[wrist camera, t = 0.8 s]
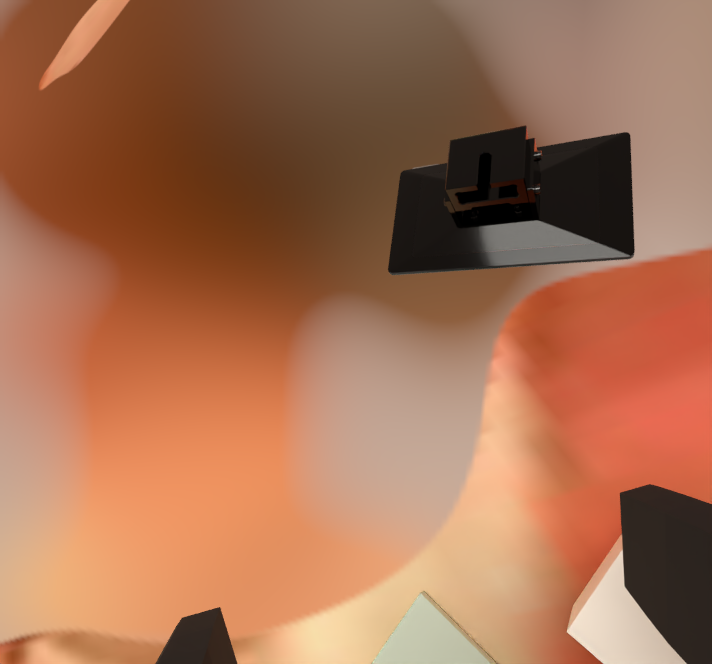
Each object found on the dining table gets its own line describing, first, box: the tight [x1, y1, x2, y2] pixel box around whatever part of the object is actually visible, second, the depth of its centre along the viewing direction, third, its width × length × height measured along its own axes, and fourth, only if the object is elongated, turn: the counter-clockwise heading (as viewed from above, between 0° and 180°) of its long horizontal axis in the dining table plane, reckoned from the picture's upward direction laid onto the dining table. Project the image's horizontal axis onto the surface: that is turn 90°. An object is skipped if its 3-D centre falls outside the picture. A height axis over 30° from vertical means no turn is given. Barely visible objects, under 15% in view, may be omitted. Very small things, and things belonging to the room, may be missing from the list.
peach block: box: [567, 534, 687, 664], centre depth 15 cm, size 4×4×5 cm
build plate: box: [388, 126, 635, 275], centre depth 24 cm, size 12×7×5 cm, turn 80°
